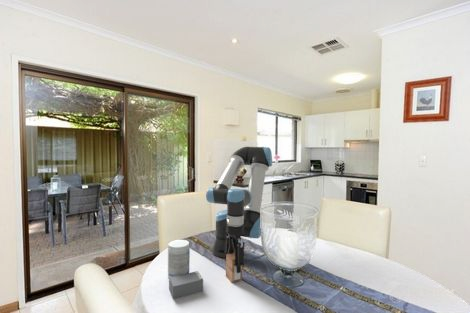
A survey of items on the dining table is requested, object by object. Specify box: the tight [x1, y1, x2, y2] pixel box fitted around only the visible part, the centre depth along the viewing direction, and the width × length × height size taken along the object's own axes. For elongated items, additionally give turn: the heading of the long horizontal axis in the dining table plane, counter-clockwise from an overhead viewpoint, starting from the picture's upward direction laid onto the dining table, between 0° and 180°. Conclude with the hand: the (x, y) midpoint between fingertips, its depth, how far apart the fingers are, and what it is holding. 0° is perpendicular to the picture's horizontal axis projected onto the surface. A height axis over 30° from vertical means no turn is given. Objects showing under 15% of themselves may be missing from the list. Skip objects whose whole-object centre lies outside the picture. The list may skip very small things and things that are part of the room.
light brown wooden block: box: [225, 253, 243, 283], centre depth 106 cm, size 5×6×10 cm
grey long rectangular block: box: [168, 271, 204, 300], centre depth 96 cm, size 12×7×5 cm, turn 118°
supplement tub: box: [167, 239, 191, 278], centre depth 107 cm, size 10×10×15 cm
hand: (233, 275), depth 106 cm, fingers closed on light brown wooden block, 6 cm apart
